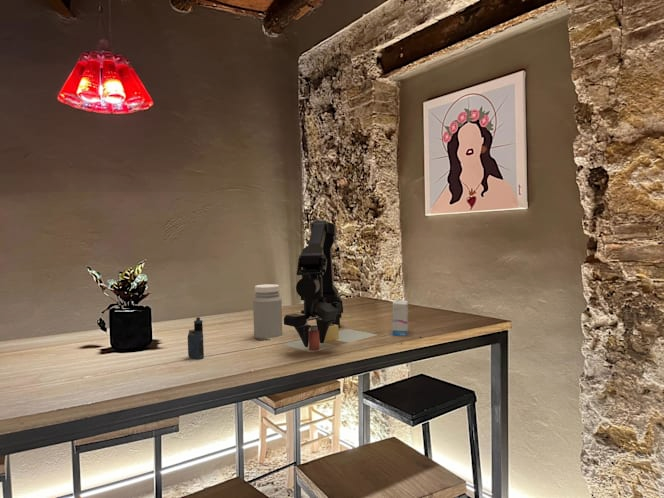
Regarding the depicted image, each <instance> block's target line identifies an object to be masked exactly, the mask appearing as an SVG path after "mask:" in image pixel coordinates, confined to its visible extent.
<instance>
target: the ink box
mask: <svg viewBox="0 0 664 498" xmlns="http://www.w3.org/2000/svg"><path fill="white" fill-rule="evenodd" d="M408 332H409V300H401V299H399V300H398V299H395V300H394V301H392V336H393V337H401V336H402V337H407V336H408Z"/></svg>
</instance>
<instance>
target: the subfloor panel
mask: <svg viewBox="0 0 664 498" xmlns="http://www.w3.org/2000/svg"><path fill="white" fill-rule="evenodd" d="M338 333H339V339H336V340H332V341H328V342H324V343H319V345H320V349H319V350H309V343H308V347H305V346H304V344H303V342H302V340H301V339H299V340H294V341H289V342H285V343H282V344H280V346H284V347H288V348H293V349H297V350H299V351H305V352H308V353H315V352H319V351H322V350H326V349H329V348H333V347H337V346H338V347H339V346H341V345H345V344H350V343H353V342H356V341H360V340H364V339H368V338H372V337H376V336H377V333H370V332H365V331H360V330H355V329H349V328H345V329H342V330H341V329H340V330H338Z"/></svg>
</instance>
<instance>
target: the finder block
mask: <svg viewBox="0 0 664 498" xmlns="http://www.w3.org/2000/svg"><path fill="white" fill-rule="evenodd" d="M317 330H318V329H317ZM338 331H339V328H338V325H334V324H330V326H329V328H328V330H327V333H326V336H325V340H324V342H328V341H332V340H336V339H339V333H338ZM319 343H320V340H319Z"/></svg>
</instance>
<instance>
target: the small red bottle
mask: <svg viewBox="0 0 664 498" xmlns="http://www.w3.org/2000/svg"><path fill="white" fill-rule="evenodd" d="M319 349H320V345H319V330H317V324H316V325H313V324H312V325H311V327H310V329H309V350H319ZM319 351H320V350H319Z"/></svg>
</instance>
